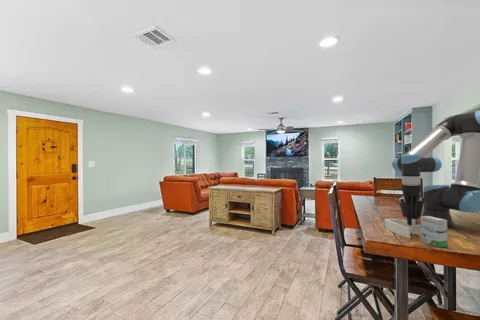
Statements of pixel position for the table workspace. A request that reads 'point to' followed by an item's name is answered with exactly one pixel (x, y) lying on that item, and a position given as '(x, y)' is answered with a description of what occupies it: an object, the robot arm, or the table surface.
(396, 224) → the white u-shaped frame
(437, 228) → the ink box
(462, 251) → the table surface
